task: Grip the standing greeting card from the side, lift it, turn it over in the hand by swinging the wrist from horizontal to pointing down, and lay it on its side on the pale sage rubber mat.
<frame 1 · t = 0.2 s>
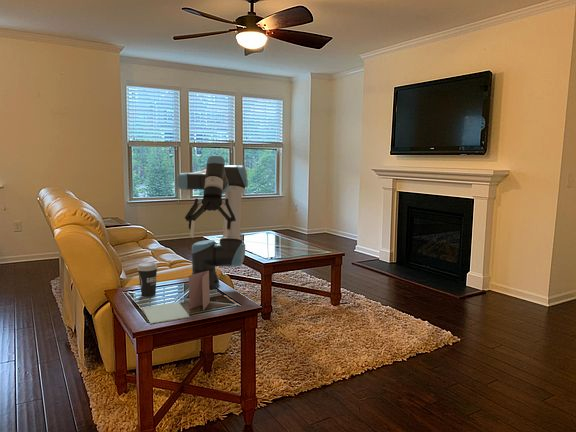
hand: (208, 236, 176), 35 cm above the table, tool tilted 35°, fingers open, 13 cm apart
greeting card: (204, 307, 198), on the table
coffee cup: (148, 294, 215), on the table
mat: (165, 313, 191), on the table
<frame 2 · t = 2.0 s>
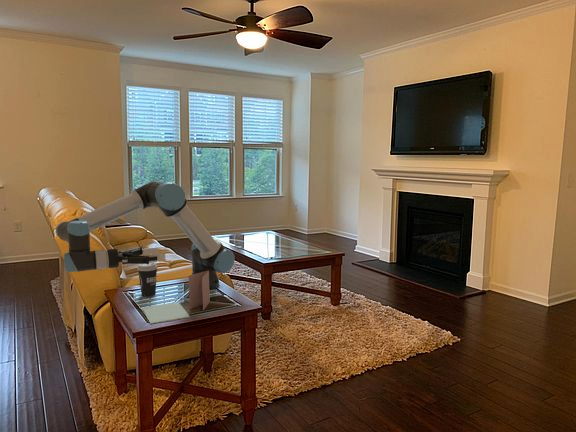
hand: (161, 253, 187), 26 cm above the table, tool horizontal, fingers open, 13 cm apart
nothing on the table moved.
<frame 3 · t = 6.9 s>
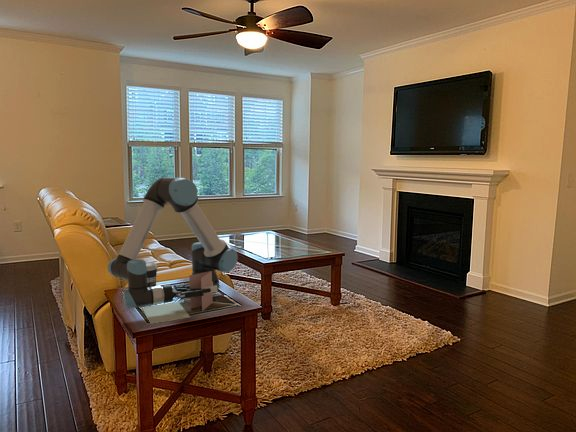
hand: (214, 286, 200), 9 cm above the table, tool horizontal, fingers open, 6 cm apart
greeting card: (205, 307, 198), on the table, touching gripper
everything else where it was.
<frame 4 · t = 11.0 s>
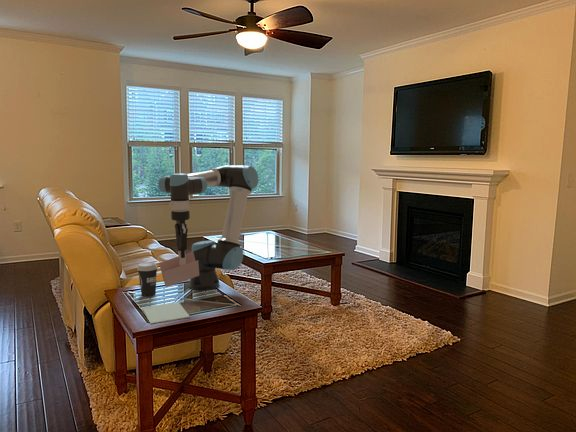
hand: (182, 264, 191), 20 cm above the table, tool pointing down, fingers closed
greeting card: (163, 277, 186), point 17 cm above the table, touching gripper
everything else where it was.
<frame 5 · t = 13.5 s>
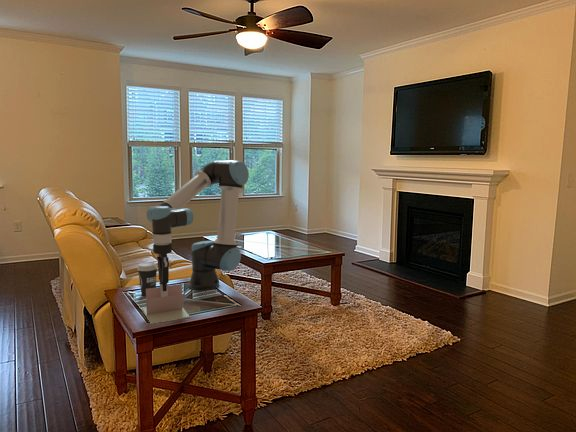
hand: (164, 297, 189), 7 cm above the table, tool pointing down, fingers closed
greeting card: (146, 304, 184), point 6 cm above the table, touching gripper, mat
everything else where it was.
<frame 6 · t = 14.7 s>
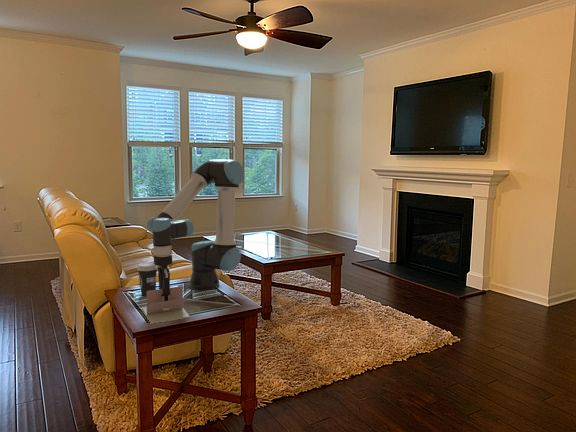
hand: (165, 308, 190), 2 cm above the table, tool pointing down, fingers open, 3 cm apart
greeting card: (147, 306, 183), point 5 cm above the table, touching gripper, mat
everything else where it was.
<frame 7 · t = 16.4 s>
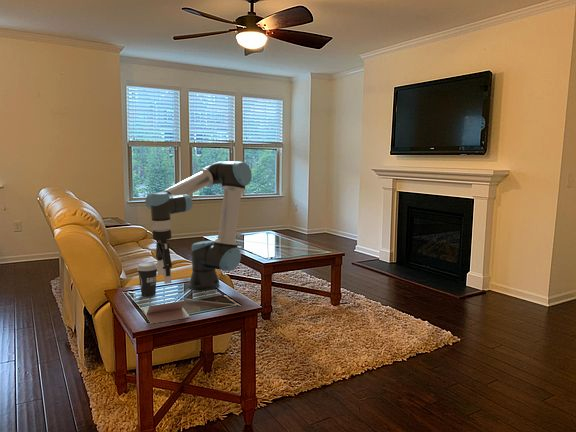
hand: (164, 278, 189), 15 cm above the table, tool pointing down, fingers open, 13 cm apart
greeting card: (148, 316, 182), point 1 cm above the table, touching mat
everything else where it was.
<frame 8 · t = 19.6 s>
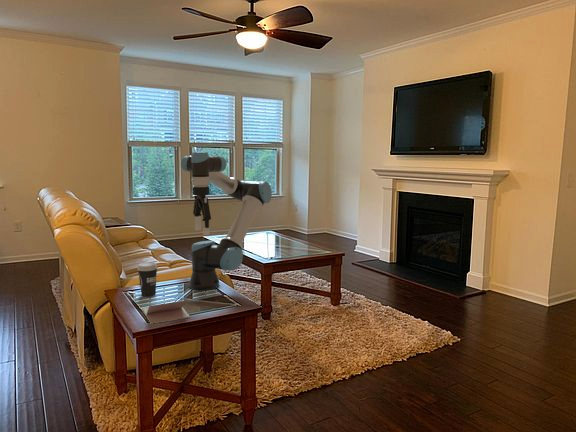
hand: (202, 232, 204), 32 cm above the table, tool pointing down, fingers open, 13 cm apart
nothing on the table moved.
at the end: greeting card tilted 90°; greeting card 9.4 cm from the mat (horizontally); greeting card touching mat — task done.
